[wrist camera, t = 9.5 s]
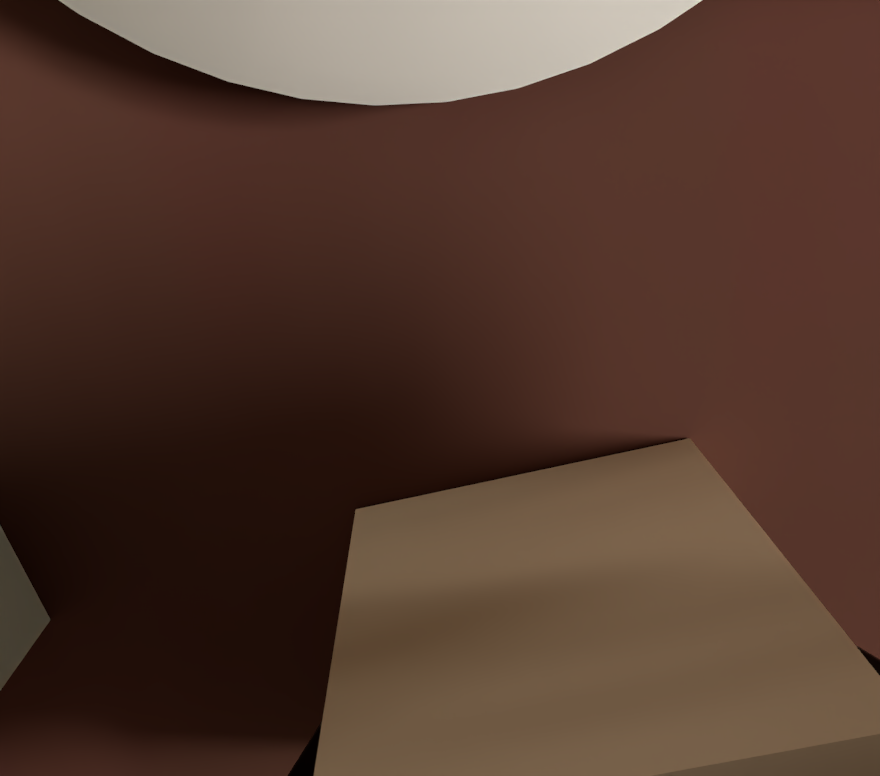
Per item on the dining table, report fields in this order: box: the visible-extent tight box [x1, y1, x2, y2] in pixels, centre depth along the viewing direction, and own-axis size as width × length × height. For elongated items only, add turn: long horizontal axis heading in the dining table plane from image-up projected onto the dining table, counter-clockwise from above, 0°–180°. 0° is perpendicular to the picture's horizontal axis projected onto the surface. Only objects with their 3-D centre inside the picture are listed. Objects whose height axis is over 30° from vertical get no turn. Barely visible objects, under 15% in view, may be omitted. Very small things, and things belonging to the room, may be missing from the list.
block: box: [314, 438, 880, 776], centre depth 7 cm, size 4×4×4 cm
